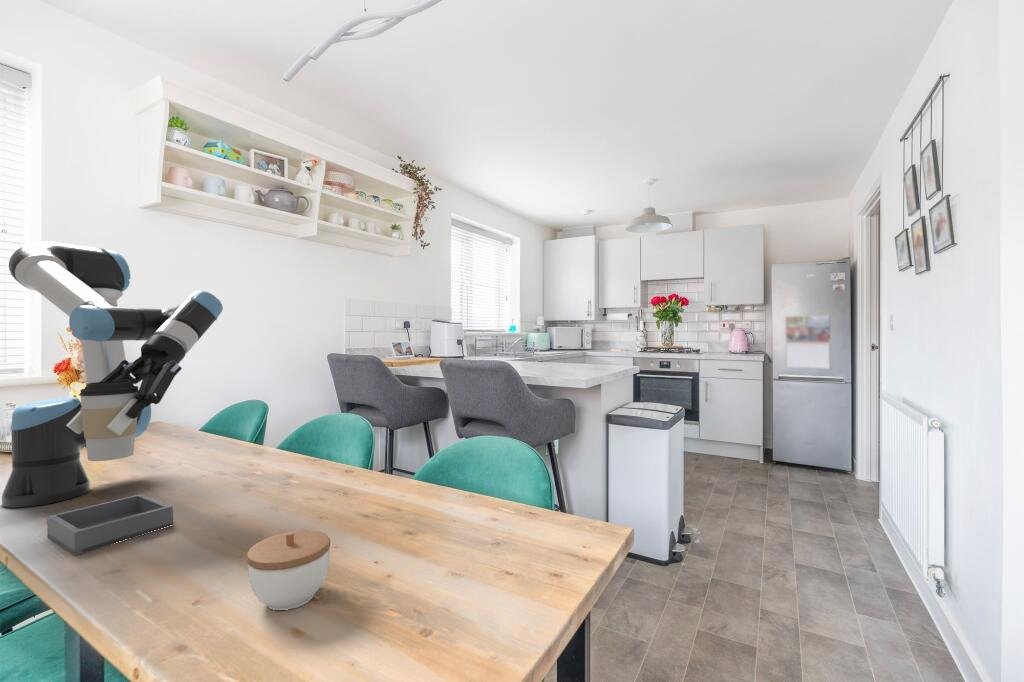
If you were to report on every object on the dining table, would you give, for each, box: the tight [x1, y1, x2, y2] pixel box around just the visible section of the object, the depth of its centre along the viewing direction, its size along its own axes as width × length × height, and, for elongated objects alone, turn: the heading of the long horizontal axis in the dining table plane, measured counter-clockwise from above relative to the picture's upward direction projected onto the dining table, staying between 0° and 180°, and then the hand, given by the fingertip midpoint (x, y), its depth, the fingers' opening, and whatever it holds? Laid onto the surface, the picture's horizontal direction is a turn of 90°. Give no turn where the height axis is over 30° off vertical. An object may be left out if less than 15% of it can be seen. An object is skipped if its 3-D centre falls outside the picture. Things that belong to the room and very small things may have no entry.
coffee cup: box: [78, 379, 139, 462], centre depth 92 cm, size 9×9×15 cm
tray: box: [46, 493, 174, 556], centre depth 92 cm, size 15×15×4 cm
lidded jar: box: [246, 529, 331, 611], centre depth 67 cm, size 11×11×9 cm
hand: (93, 430), depth 89 cm, fingers closed on coffee cup, 9 cm apart
